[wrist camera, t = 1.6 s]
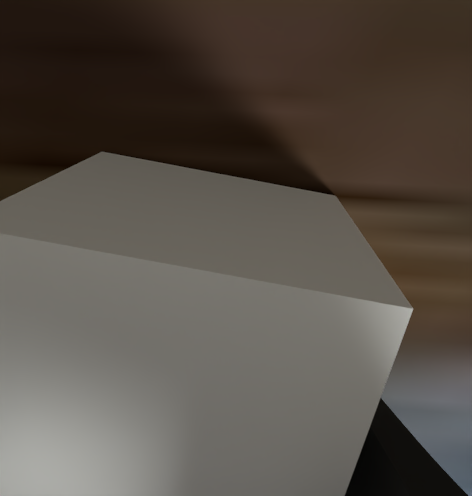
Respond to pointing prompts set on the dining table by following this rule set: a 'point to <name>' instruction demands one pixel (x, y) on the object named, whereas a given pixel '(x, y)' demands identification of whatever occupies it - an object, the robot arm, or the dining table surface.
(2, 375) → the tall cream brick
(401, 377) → the dining table surface
